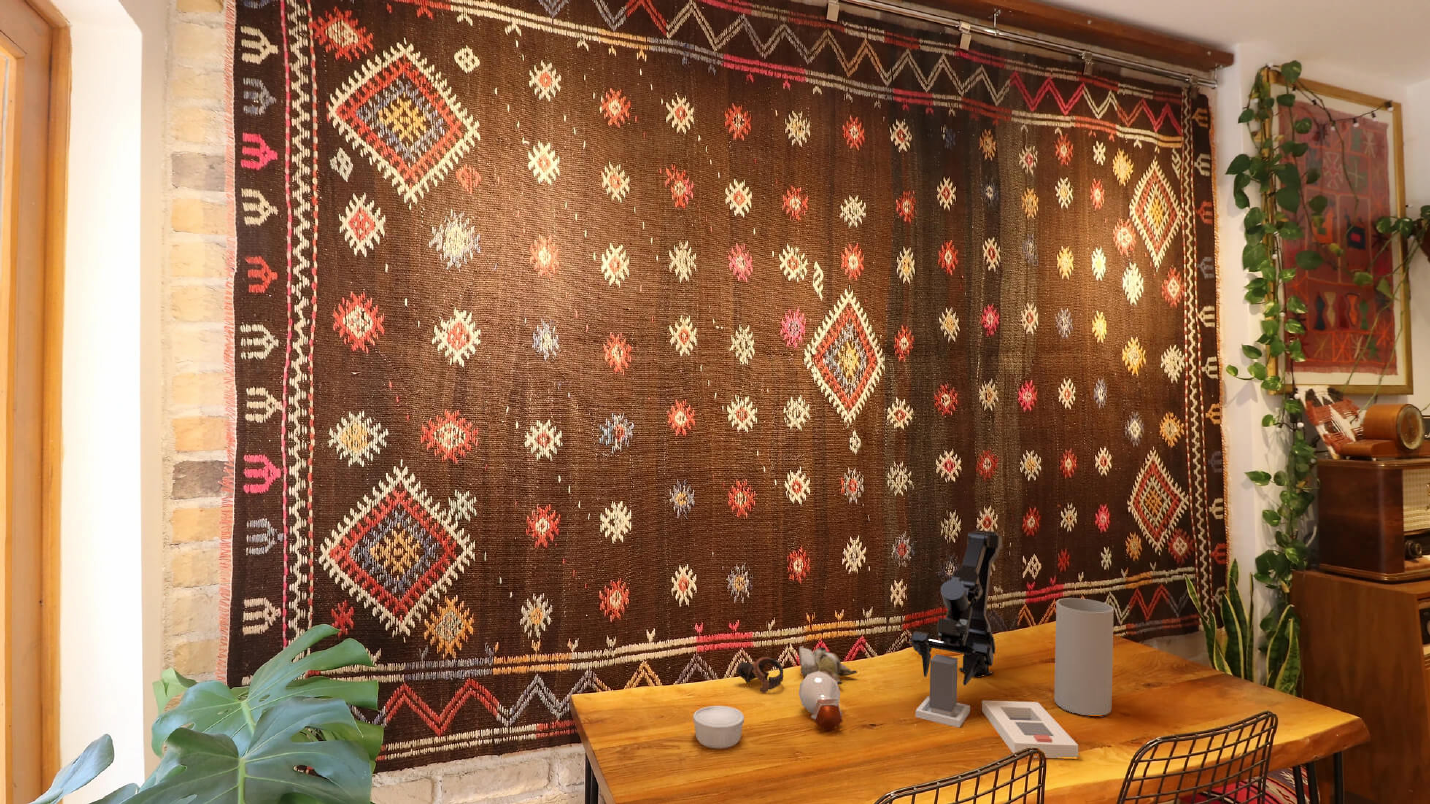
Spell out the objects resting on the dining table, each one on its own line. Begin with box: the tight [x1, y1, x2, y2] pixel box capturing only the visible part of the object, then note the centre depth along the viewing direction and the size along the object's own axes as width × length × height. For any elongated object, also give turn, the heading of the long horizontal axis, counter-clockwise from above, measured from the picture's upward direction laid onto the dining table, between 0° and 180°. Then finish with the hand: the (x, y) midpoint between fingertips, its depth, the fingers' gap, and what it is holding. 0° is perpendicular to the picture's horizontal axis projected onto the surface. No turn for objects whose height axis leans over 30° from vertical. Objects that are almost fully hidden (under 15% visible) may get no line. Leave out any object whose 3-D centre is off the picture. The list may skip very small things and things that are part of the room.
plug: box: [929, 653, 958, 717], centre depth 177 cm, size 5×5×13 cm
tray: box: [915, 695, 971, 728], centre depth 177 cm, size 10×10×2 cm
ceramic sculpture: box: [798, 646, 858, 685], centre depth 200 cm, size 11×9×15 cm
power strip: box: [981, 699, 1079, 759], centre depth 168 cm, size 22×13×4 cm, turn 177°
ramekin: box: [692, 705, 745, 750], centre depth 164 cm, size 11×11×5 cm
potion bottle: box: [798, 671, 844, 732], centre depth 176 cm, size 10×10×15 cm
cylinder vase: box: [1054, 597, 1115, 716], centre depth 184 cm, size 12×12×25 cm
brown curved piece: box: [736, 656, 784, 694], centre depth 194 cm, size 12×10×8 cm
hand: (944, 680), depth 178 cm, fingers open, 9 cm apart
